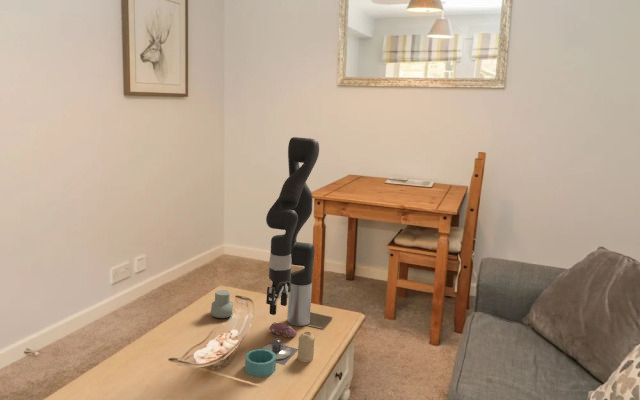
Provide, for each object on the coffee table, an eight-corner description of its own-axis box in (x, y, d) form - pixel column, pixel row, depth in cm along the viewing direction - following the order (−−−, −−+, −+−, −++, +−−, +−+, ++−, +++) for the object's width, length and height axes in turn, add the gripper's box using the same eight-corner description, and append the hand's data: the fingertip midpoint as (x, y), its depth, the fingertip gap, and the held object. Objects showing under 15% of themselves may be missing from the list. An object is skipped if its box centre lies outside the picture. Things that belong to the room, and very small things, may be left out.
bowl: (254, 359, 180) (254, 346, 179) (280, 366, 177) (280, 353, 176) (239, 373, 171) (239, 359, 170) (266, 381, 168) (267, 367, 167)
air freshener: (213, 309, 218) (213, 287, 216) (232, 309, 219) (233, 287, 217) (210, 321, 208) (210, 297, 206) (231, 321, 209) (231, 297, 207)
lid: (270, 343, 191) (270, 331, 190) (295, 349, 188) (296, 337, 187) (256, 355, 182) (256, 343, 181) (283, 362, 178) (283, 350, 177)
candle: (311, 364, 179) (312, 338, 177) (295, 362, 180) (297, 335, 178) (314, 357, 185) (316, 331, 182) (299, 354, 186) (301, 328, 183)
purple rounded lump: (270, 337, 200) (266, 326, 196) (275, 328, 203) (272, 316, 199) (293, 343, 197) (290, 331, 192) (298, 334, 200) (295, 322, 196)
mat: (269, 343, 193) (269, 341, 192) (298, 350, 188) (298, 349, 188) (253, 357, 182) (253, 356, 182) (284, 366, 177) (284, 364, 177)
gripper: (279, 258, 186) (277, 300, 189) (260, 269, 173) (259, 315, 176) (298, 261, 183) (296, 304, 187) (280, 273, 170) (278, 319, 174)
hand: (278, 309), depth 181 cm, fingers open, 8 cm apart
